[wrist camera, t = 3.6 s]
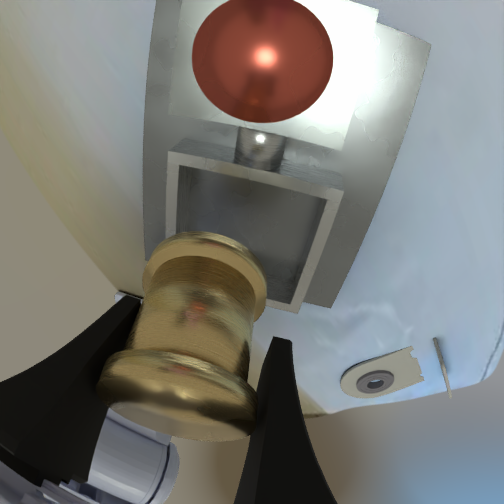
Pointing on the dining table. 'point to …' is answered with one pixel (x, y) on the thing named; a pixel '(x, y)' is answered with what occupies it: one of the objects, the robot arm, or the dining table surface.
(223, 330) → the brass spool
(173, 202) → the valve base
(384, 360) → the bracket
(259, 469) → the robot arm
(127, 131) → the dining table surface
